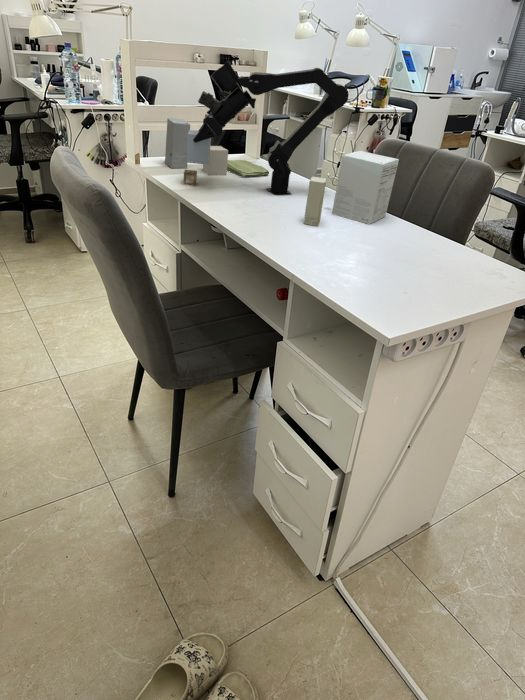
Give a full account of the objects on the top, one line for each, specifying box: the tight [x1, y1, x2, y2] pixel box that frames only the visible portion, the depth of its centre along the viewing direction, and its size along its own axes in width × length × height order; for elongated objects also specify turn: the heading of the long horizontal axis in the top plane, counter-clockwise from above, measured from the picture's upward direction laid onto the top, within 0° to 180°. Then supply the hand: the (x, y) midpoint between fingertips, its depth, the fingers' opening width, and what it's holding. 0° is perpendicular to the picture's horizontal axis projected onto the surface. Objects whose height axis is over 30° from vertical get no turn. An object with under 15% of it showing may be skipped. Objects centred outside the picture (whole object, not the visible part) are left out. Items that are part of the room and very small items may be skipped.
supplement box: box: [331, 150, 400, 225], centre depth 150 cm, size 13×13×18 cm
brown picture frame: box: [183, 169, 198, 187], centre depth 164 cm, size 4×4×4 cm
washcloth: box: [227, 159, 270, 178], centre depth 187 cm, size 13×18×3 cm
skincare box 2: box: [303, 176, 327, 227], centre depth 140 cm, size 6×4×12 cm
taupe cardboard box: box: [202, 145, 229, 176], centre depth 179 cm, size 7×7×9 cm
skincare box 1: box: [164, 117, 191, 170], centre depth 179 cm, size 8×7×16 cm
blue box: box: [187, 129, 212, 165], centre depth 159 cm, size 7×7×9 cm
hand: (194, 139), depth 157 cm, fingers closed on blue box, 7 cm apart
